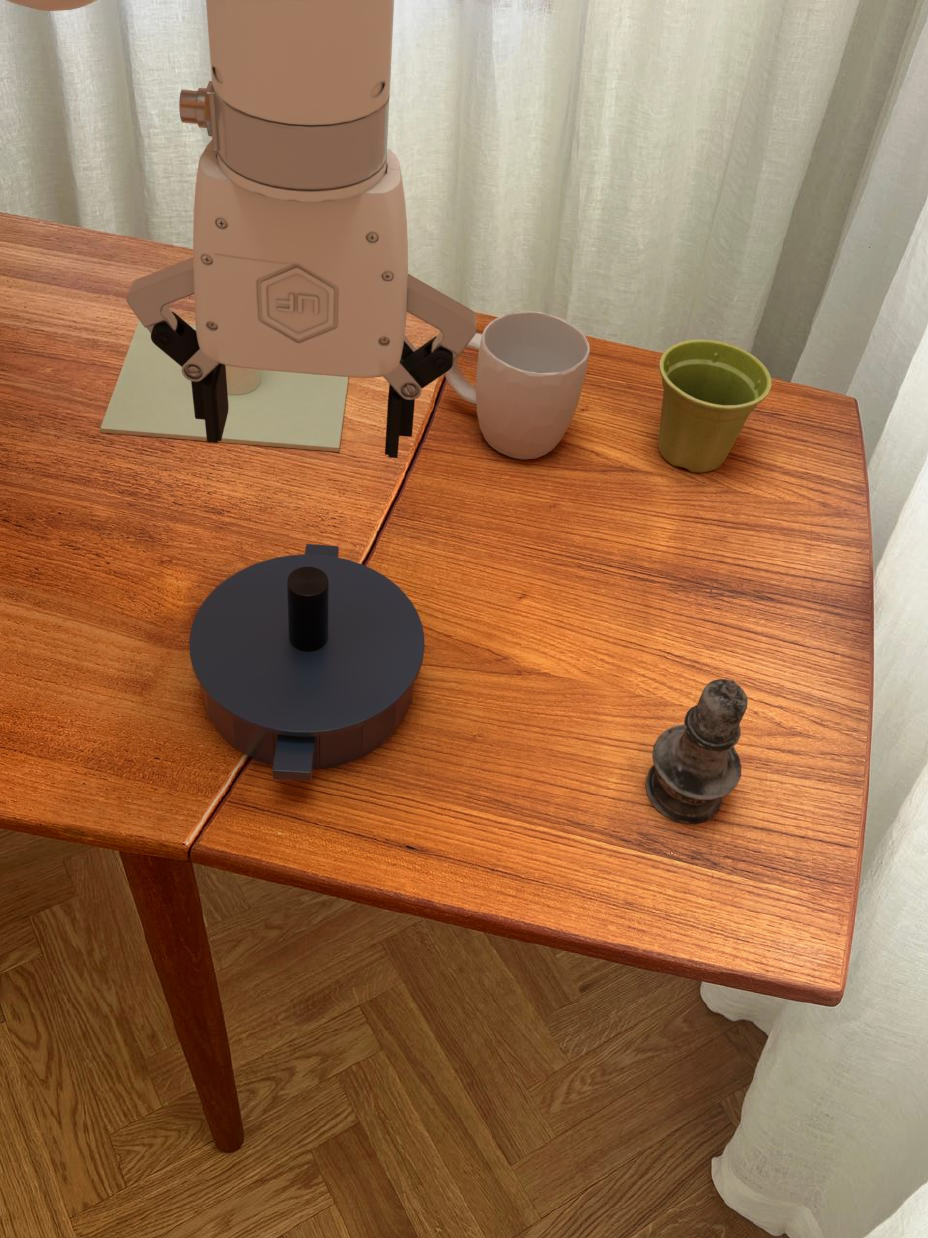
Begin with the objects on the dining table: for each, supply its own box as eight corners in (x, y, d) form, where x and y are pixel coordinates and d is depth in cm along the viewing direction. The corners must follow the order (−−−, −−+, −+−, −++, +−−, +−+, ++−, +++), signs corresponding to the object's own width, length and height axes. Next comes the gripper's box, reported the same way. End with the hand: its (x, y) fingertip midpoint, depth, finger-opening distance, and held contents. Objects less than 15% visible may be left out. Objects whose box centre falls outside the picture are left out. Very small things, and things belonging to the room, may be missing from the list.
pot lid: (170, 734, 70) (159, 668, 65) (210, 556, 80) (203, 488, 75) (419, 750, 71) (426, 686, 66) (427, 573, 81) (434, 506, 76)
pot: (177, 797, 71) (170, 758, 68) (225, 572, 84) (221, 529, 81) (405, 811, 72) (410, 773, 69) (417, 586, 85) (421, 545, 82)
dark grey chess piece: (711, 750, 78) (762, 640, 69) (738, 823, 74) (796, 716, 65) (630, 758, 77) (672, 646, 68) (654, 832, 73) (701, 725, 64)
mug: (586, 429, 100) (608, 335, 93) (542, 484, 95) (560, 388, 87) (464, 378, 103) (475, 282, 96) (414, 427, 98) (422, 330, 90)
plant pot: (673, 496, 95) (698, 416, 89) (619, 429, 101) (640, 348, 94) (762, 474, 98) (793, 394, 92) (705, 410, 104) (731, 331, 97)
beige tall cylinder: (206, 393, 97) (197, 298, 90) (214, 363, 100) (206, 269, 93) (257, 397, 98) (252, 303, 91) (263, 367, 101) (259, 274, 94)
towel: (100, 432, 93) (99, 428, 93) (139, 323, 104) (139, 319, 104) (339, 452, 95) (339, 447, 94) (353, 342, 105) (353, 338, 105)
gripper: (81, 149, 46) (133, 466, 58) (498, 190, 47) (460, 492, 60) (120, 72, 51) (160, 380, 63) (497, 111, 52) (462, 405, 65)
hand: (305, 434), depth 62 cm, fingers open, 9 cm apart
